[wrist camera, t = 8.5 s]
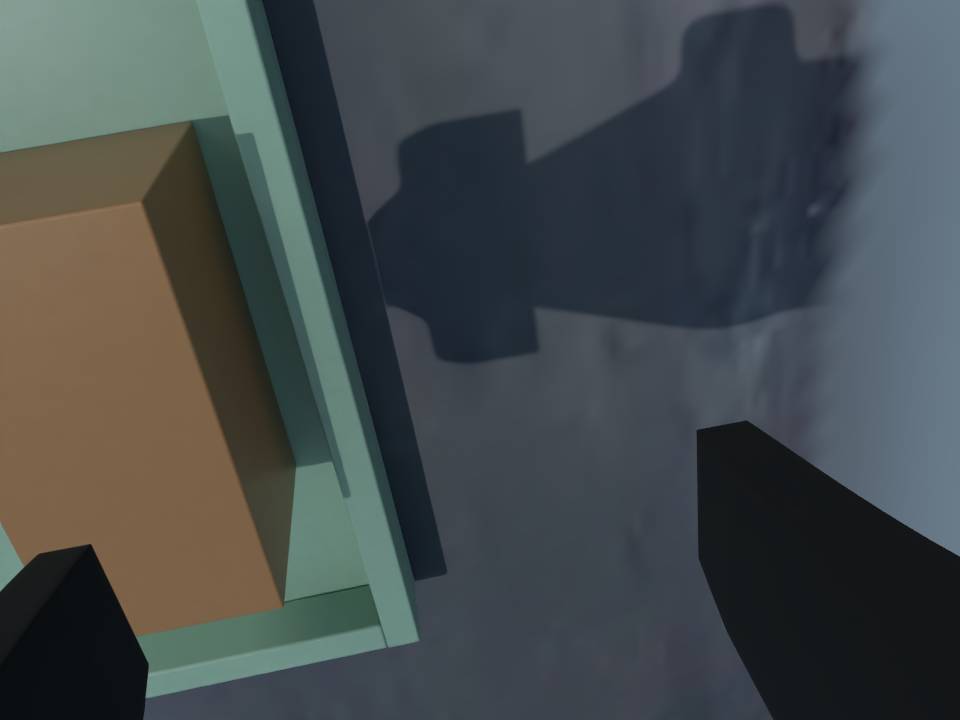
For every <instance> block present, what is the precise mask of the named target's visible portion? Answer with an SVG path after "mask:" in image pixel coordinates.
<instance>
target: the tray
mask: <svg viewBox="0 0 960 720" xmlns="http://www.w3.org/2000/svg"><path fill="white" fill-rule="evenodd" d="M186 121H192V123H193V125H194V128H195V132H196V135H197V138H198V141H199V145H200V148H201V151H202V155H203V158H204V161H205V165H206V168H207V171H208V174H209V178H210V181H211V184H212V188H213V191H214V194H215V198H216V201H217V204H218V207H219V211H220V214H221V217H222V221H223V224H224V227H225V231H226V234H227V237H228V240H229V244H230V247H231V250H232V254H233V257H234V260H235V264H236V267H237V270H238V274H239V277H240V280H241V283H242V287H243V290H244V293H245V297H246V300H247V303H248V307H249V310H250V313H251V316H252V320H253V323H254V326H255V330H256V333H257V336H258V340H259V343H260V346H261V349H262V353H263V356H264V359H265V363H266V366H267V369H268V373H269V376H270V379H271V382H272V386H273V389H274V392H275V396H276V399H277V402H278V406H279V409H280V412H281V415H282V419H283V422H284V425H285V429H286V432H287V435H288V439H289V442H290V445H291V449H292V452H293V455H294V458H295V462H296V475H295V487H294V498H293V509H292V521H291V532H290V543H289V555H288V566H287V577H286V589H285V600H284V607H283V608H280V609H275V610H270V611H265V612H260V613H255V614H250V615H244V616H239V617H234V618H229V619H224V620H219V621H214V622H209V623H203V624H198V625H193V626H188V627H183V628H178V629H173V630H168V631H163V632H157V633H152V634H147V635H142V636H137V637H136V638H137V640H138V642H139V645H140V647H141V649H142V651H143V653H144V655H145V657H146V659H147V661H148V663H149V670H148V680H147V689H146V698H151V697H155V696H160V695H165V694H169V693H174V692H179V691H184V690H188V689H193V688H198V687H203V686H207V685H212V684H217V683H221V682H226V681H231V680H236V679H240V678H245V677H250V676H255V675H259V674H264V673H269V672H273V671H278V670H283V669H288V668H292V667H297V666H302V665H307V664H311V663H316V662H321V661H325V660H330V659H335V658H340V657H344V656H349V655H354V654H359V653H363V652H368V651H373V650H377V649H382V648H385V647H386V646H387V645H388V647H394V646H399V645H403V644H408V643H413V642H417V641H419V639H420V636H419V625H418V614H417V603H416V596H415V594H416V593H415V582H414V577H413V574H412V570H411V566H410V562H409V558H408V555H407V551H406V547H405V543H404V539H403V536H402V532H401V528H400V524H399V520H398V517H397V513H396V509H395V505H394V501H393V497H392V494H391V490H390V486H389V482H388V478H387V475H386V471H385V467H384V463H383V459H382V456H381V452H380V448H379V444H378V440H377V436H376V433H375V429H374V425H373V421H372V417H371V414H370V410H369V406H368V402H367V398H366V395H365V391H364V387H363V383H362V379H361V375H360V372H359V368H358V364H357V360H356V356H355V353H354V349H353V345H352V341H351V337H350V334H349V330H348V326H347V322H346V318H345V315H344V311H343V307H342V303H341V299H340V295H339V292H338V288H337V284H336V280H335V276H334V273H333V269H332V265H331V261H330V257H329V254H328V250H327V246H326V242H325V238H324V234H323V231H322V227H321V223H320V219H319V215H318V212H317V208H316V204H315V200H314V196H313V193H312V189H311V185H310V181H309V177H308V173H307V170H306V166H305V162H304V158H303V154H302V151H301V147H300V143H299V139H298V135H297V132H296V128H295V124H294V120H293V116H292V113H291V109H290V105H289V101H288V97H287V93H286V90H285V86H284V82H283V78H282V74H281V71H280V67H279V63H278V59H277V55H276V52H275V48H274V44H273V40H272V36H271V32H270V29H269V25H268V21H267V17H266V13H265V10H264V6H263V2H262V0H0V153H4V152H10V151H15V150H21V149H27V148H33V147H39V146H45V145H51V144H57V143H63V142H68V141H74V140H80V139H86V138H92V137H98V136H104V135H110V134H116V133H122V132H127V131H133V130H139V129H145V128H151V127H157V126H163V125H169V124H175V123H180V122H186ZM23 568H24V566H23V564H22V562H21V560H20V559H19V557H18V555H17V553H16V551H15V549H14V547H13V546H12V544H11V542H10V540H9V538H8V536H7V534H6V533H5V531H4V529H3V527H2V525H1V523H0V591H1V590H2V589H3V588H4V587H5V586H6V585H7V584H8V583H9V582H10V581H11V580H12V579H13V578H14V577H15V576H16V575H17V574H18V573H19V572H20V571H21V570H22V569H23Z"/></svg>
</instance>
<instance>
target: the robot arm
mask: <svg viewBox="0 0 960 720" xmlns="http://www.w3.org/2000/svg"><path fill="white" fill-rule="evenodd" d="M697 481H698V550H699V560H700V563H701V566H702V568H703V571H704V574H705V576H706V579H707V582H708V584H709V587H710V590H711V592H712V595H713V598H714V600H715V603H716V605H717V608H718V610H719V613H720V615H721V618H722V620H723V623H724V625H725V628H726V630H727V633H728V635H729V636H730V638H731V640H732V642H733V644H734V646H735V648H736V650H737V652H738V654H739V656H740V658H741V659H742V661H743V663H744V665H745V667H746V669H747V671H748V673H749V674H750V676H751V678H752V680H753V682H754V684H755V686H756V688H757V690H758V691H759V693H760V695H761V697H762V699H763V701H764V703H765V704H766V706H767V708H768V710H769V712H770V714H771V716H772V717H773V719H774V720H960V557H959V556H958V555H956V554H954V553H952V552H951V551H949V550H947V549H945V548H943V547H942V546H940V545H938V544H936V543H935V542H933V541H931V540H929V539H928V538H926V537H924V536H923V535H921V534H919V533H918V532H916V531H914V530H913V529H911V528H909V527H908V526H906V525H904V524H903V523H901V522H899V521H898V520H896V519H895V518H893V517H891V516H890V515H888V514H886V513H885V512H883V511H882V510H880V509H878V508H877V507H875V506H874V505H872V504H871V503H869V502H868V501H866V500H864V499H863V498H861V497H860V496H858V495H857V494H855V493H854V492H852V491H851V490H849V489H848V488H846V487H845V486H843V485H841V484H840V483H838V482H837V481H835V480H834V479H832V478H831V477H829V476H828V475H827V474H825V473H824V472H822V471H821V470H819V469H818V468H816V467H815V466H813V465H812V464H810V463H809V462H807V461H806V460H804V459H803V458H801V457H800V456H798V455H797V454H796V453H794V452H793V451H791V450H790V449H788V448H787V447H785V446H784V445H782V444H781V443H780V442H778V441H777V440H775V439H774V438H772V437H771V436H769V435H768V434H766V433H765V432H763V431H762V430H760V429H759V428H757V427H756V426H754V425H753V424H751V423H750V422H748V421H742V422H736V423H731V424H726V425H720V426H715V427H710V428H705V429H699V430H697ZM148 670H149V663H148V661H147V659H146V657H145V655H144V653H143V651H142V649H141V647H140V645H139V642H138V640H137V638H136V636H135V634H134V632H133V630H132V628H131V626H130V624H129V622H128V620H127V618H126V615H125V613H124V611H123V609H122V607H121V605H120V603H119V601H118V599H117V597H116V595H115V593H114V590H113V588H112V586H111V584H110V582H109V580H108V578H107V576H106V574H105V572H104V570H103V568H102V565H101V563H100V561H99V559H98V557H97V555H96V553H95V551H94V549H93V547H92V545H91V544H87V545H82V546H76V547H71V548H66V549H61V550H55V551H50V552H45V553H39V554H38V555H37V556H36V557H34V558H33V559H32V560H31V561H30V562H29V563H28V564H27V565H26V566H25V567H24V568H23V569H22V570H21V571H20V572H19V573H18V574H17V575H16V576H15V577H14V578H13V579H12V580H11V581H10V582H9V583H8V584H7V585H6V586H5V587H4V588H3V589H2V590H1V591H0V720H143V716H144V709H145V699H146V689H147V680H148Z"/></svg>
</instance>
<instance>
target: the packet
mask: <svg viewBox="0 0 960 720" xmlns="http://www.w3.org/2000/svg"><path fill="white" fill-rule="evenodd" d="M295 475H296V462H295V458H294V455H293V452H292V449H291V445H290V442H289V439H288V435H287V432H286V429H285V425H284V422H283V419H282V415H281V412H280V409H279V406H278V402H277V399H276V396H275V392H274V389H273V386H272V382H271V379H270V376H269V373H268V369H267V366H266V363H265V359H264V356H263V353H262V349H261V346H260V343H259V340H258V336H257V333H256V330H255V326H254V323H253V320H252V316H251V313H250V310H249V307H248V303H247V300H246V297H245V293H244V290H243V287H242V283H241V280H240V277H239V274H238V270H237V267H236V264H235V260H234V257H233V254H232V250H231V247H230V244H229V240H228V237H227V234H226V231H225V227H224V224H223V221H222V217H221V214H220V211H219V207H218V204H217V201H216V198H215V194H214V191H213V188H212V184H211V181H210V178H209V174H208V171H207V168H206V165H205V161H204V158H203V155H202V151H201V148H200V145H199V141H198V138H197V135H196V132H195V128H194V125H193V123H192V121H186V122H180V123H175V124H169V125H163V126H157V127H151V128H145V129H139V130H133V131H127V132H122V133H116V134H110V135H104V136H98V137H92V138H86V139H80V140H74V141H68V142H63V143H57V144H51V145H45V146H39V147H33V148H27V149H21V150H15V151H10V152H4V153H0V523H1V525H2V527H3V529H4V531H5V533H6V534H7V536H8V538H9V540H10V542H11V544H12V546H13V547H14V549H15V551H16V553H17V555H18V557H19V559H20V560H21V562H22V564H23V566H24V567H25V566H26V565H27V564H28V563H29V562H30V561H31V560H32V559H33V558H34V557H36V556H37V555H38V554H39V553H45V552H50V551H55V550H61V549H66V548H71V547H76V546H82V545H87V544H91V545H92V547H93V549H94V551H95V553H96V555H97V557H98V559H99V561H100V563H101V565H102V568H103V570H104V572H105V574H106V576H107V578H108V580H109V582H110V584H111V586H112V588H113V590H114V593H115V595H116V597H117V599H118V601H119V603H120V605H121V607H122V609H123V611H124V613H125V615H126V618H127V620H128V622H129V624H130V626H131V628H132V630H133V632H134V634H135V636H136V637H137V636H142V635H147V634H152V633H157V632H163V631H168V630H173V629H178V628H183V627H188V626H193V625H198V624H203V623H209V622H214V621H219V620H224V619H229V618H234V617H239V616H244V615H250V614H255V613H260V612H265V611H270V610H275V609H280V608H283V607H284V600H285V589H286V577H287V566H288V555H289V543H290V532H291V521H292V509H293V498H294V487H295Z"/></svg>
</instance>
